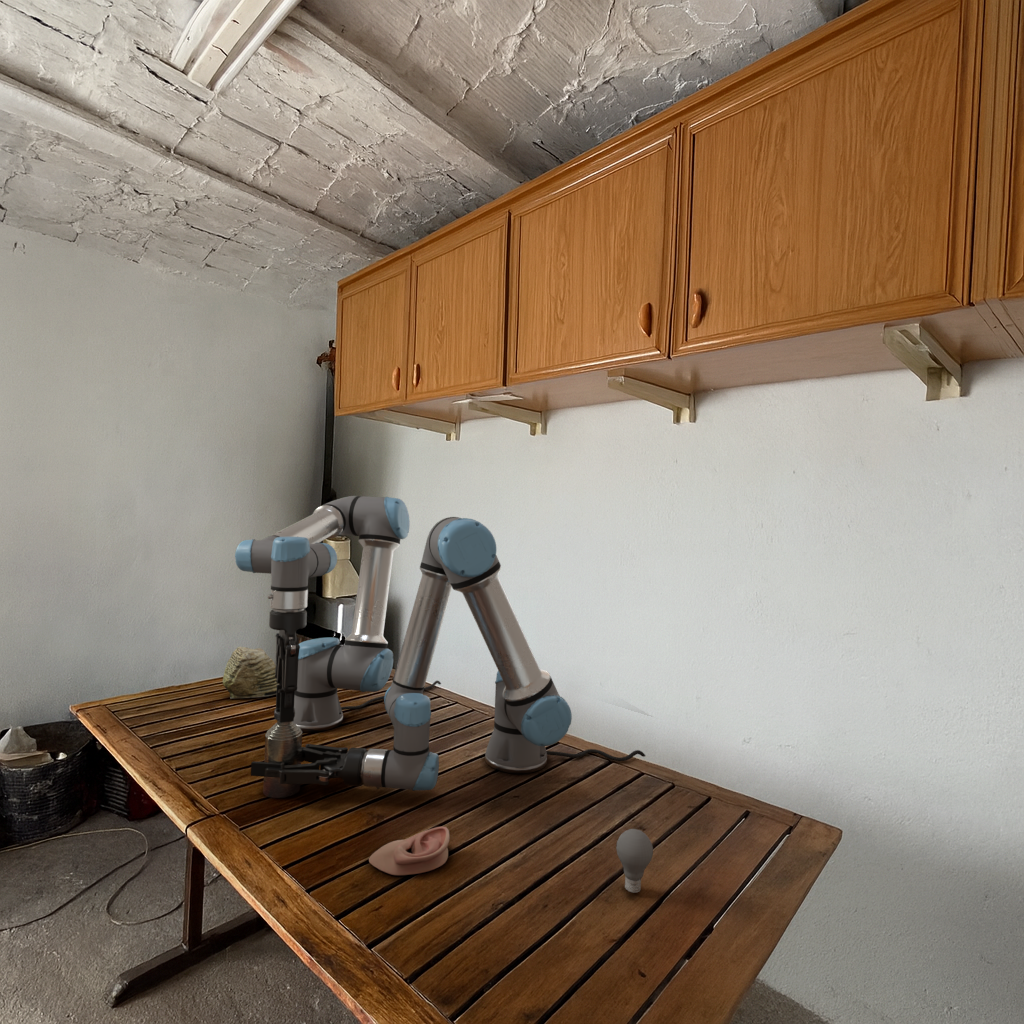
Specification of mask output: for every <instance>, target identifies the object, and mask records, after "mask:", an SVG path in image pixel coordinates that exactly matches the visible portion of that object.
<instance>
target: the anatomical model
mask: <svg viewBox="0 0 1024 1024" xmlns="http://www.w3.org/2000/svg"><path fill="white" fill-rule="evenodd" d="M450 835H451V834H450V830H449V828H447V826H435V827H433V828H428V829H427V830H424V831H421V832H418V833H417V834H415V835H411V836H410V837H408V838H405V839H397V840H393V841H390V842H388V843H386V844H384V845H382V846H381V847H379V848H378V849H376V850H375V851H374V852H373V853H371V855H370V856H369V858H368V862H369V864H370V865H372V866H373V867H374V868H376V869H378V870H379V871H381V872H383V873H386V874H388V875H391V876H408V875H417V874H422V873H426V872H430V871H433V870H435V869H438V868H439V867H442V866H443V865H444V864H446V862H447V861H448V858H449V848H448V847H449V843H450V837H451V836H450Z"/></svg>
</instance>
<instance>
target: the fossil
mask: <svg viewBox="0 0 1024 1024" xmlns="http://www.w3.org/2000/svg"><path fill="white" fill-rule="evenodd" d="M275 667H276V662H274V660H273V659H272V658H271V657H270V656H269V655H268V654H267V653H266V652H265V650H264V649H263V648H260V647H258V648H251V647H247V646H246V647H245V646H238V647H237V648H236V649H235V650H233V651H232V653H231V656H230V657H229V659H228V660H227V663H226V666H225V668H224V671H223V675H222V676H223V677H222V685H223V687H224V688H225V690H226V691H228V693H229V698H230V699H250V698H264V697H271V696H276V691H277V685H279V684H277V682H276V680H277V679H276V678H275Z"/></svg>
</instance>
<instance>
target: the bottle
mask: <svg viewBox="0 0 1024 1024" xmlns="http://www.w3.org/2000/svg"><path fill="white" fill-rule="evenodd" d="M264 737H265V738H264V761H263V762H270V763H282V762H284V766H286V765H297V764H302V762H301V752H302V747H303V732H302V731H301V729H300V728H299V727H298V726H297V725H296V724H295V723H293V722H292V721H291V722H284V723H280V721H279V720H276V722H275V723H274V724H273V725H272V726H271V727H270V728H269V729H268V730H267V731H266V733H265V736H264ZM262 789H263V790H262V792H263V795H264V796H265V797H267V798H271V799H284V798H289V797H292V796H294V795H296V794H298V793H299V792H300V790H301V784H280V778H278V777H263V788H262Z"/></svg>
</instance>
